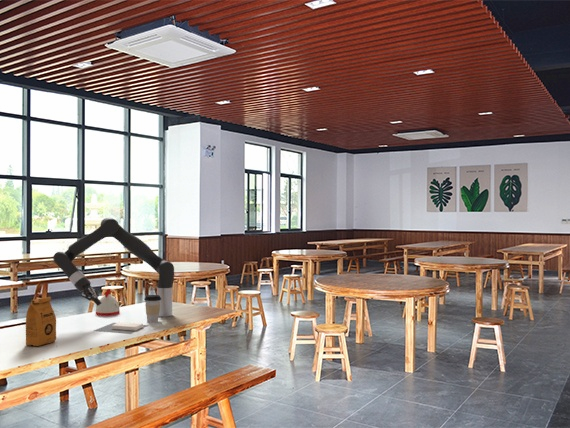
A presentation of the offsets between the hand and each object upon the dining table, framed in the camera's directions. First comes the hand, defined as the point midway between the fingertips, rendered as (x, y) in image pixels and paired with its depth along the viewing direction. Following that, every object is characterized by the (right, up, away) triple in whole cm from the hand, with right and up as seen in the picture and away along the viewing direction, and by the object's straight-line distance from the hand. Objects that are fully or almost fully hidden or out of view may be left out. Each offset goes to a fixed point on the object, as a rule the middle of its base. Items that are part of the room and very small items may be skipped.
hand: (99, 304), depth 278 cm
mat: (+13, -13, -3) cm, 18 cm away
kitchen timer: (-8, -12, +37) cm, 40 cm away
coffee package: (-15, -13, -35) cm, 40 cm away
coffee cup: (+25, -13, +15) cm, 32 cm away
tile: (+9, -11, -2) cm, 15 cm away
